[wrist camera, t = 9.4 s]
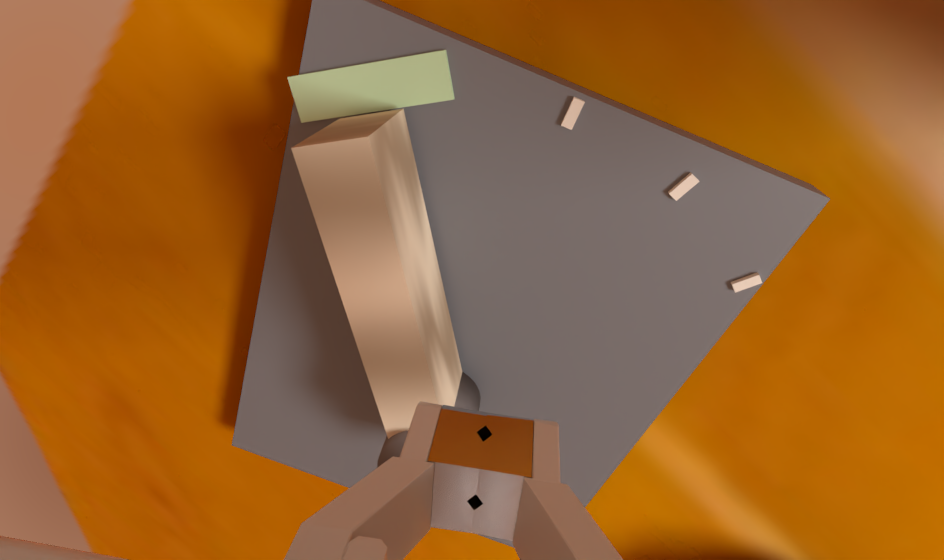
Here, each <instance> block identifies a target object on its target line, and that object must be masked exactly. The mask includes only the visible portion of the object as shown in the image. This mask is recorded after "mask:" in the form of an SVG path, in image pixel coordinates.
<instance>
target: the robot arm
mask: <svg viewBox="0 0 944 560" xmlns="http://www.w3.org/2000/svg"><path fill="white" fill-rule="evenodd" d="M430 527H434V528H442V529H449V530H456V531H463V532H470V533H471V532H472V533H475V534H480V535H485V536H490V537H495V538H500V539H505V540H510V541H513V542H512V543H513V546H514V548H515V550H516V552H517V554H518V556H519V558H520V560H623V559H622V557H621V556H620V554H619V553H618V552H617V550H616V549H615V548H614V546H613V545H612V544H611V542H610V541H609V540H608V538H607V537H606V536H605V534H604V533H603V532H602V530H601V529H600V528H599V526H598V525H597V523H596V522H595V521H594V519H593V518H592V517H591V515H590V514H589V513H588V511H587V510H586V509H585V507H584V506H583V505H582V503H581V502H580V501H579V499H578V498H577V497H576V495H575V494H574V492H573V491H572V490H571V488H570V487H569V486H568V485H567V484H562V483H560V453H559V425H558V423H557V422H554V421H547V420H539V419H534V420H533V419H530V418H523V417H516V416H509V415H502V414H495V413H487V412H482V411H476V410H470V409H465V408H459V407H453V406H448V405H439V404H433V403H428V402H422V401H420V402H419V403H418V405H417V406H416V409H415V412H414V415H413V418H412V421H411V424H410V428H409V431H408V434H407V437H406V440H405V443H404V446H403V449H402V452H401V455H400V457H391V458H390V459H389V460H387V461H386V462H384V463H383V464H382V465H380V466H379V467H378V468H376V469H375V470H374V471H372V472H371V473H370V474H368V475H367V476H365V477H364V478H363V479H361V480H360V481H359V482H357V483H356V484H355V485H353V486H352V487H350V488H349V489H348V490H346V491H345V492H344V493H342V494H341V495H340V496H338V497H337V498H335V499H334V500H333V501H331V502H330V503H329V504H327V505H326V506H325V507H323V508H322V509H321V510H319V511H318V512H316V513H315V514H314V515H312V516H311V517H310V518H308V519H307V520H306V521H304V522H303V523H302V524H301V526H300V528H299V530H298V532H297V534H296V536H295V538H294V540H293V542H292V544H291V546H290V548H289V551H288V553H287V555H286V557H285V559H284V560H403V558H404V557H405V556H406V555H407V554H408V553H409V552H410V551H411V550H412V549H413V548H414V546H415V545H416V544H417V543H418V542H419V541H420V540H421V539H422V538H423V537H424V536H425V534H426V533H427V532H428V531H429V530H430ZM0 560H129V559H124V558H118V557H113V556H107V555H102V554H96V553H91V552H85V551H80V550H75V549H69V548H64V547H58V546H52V545H47V544H42V543H37V542H31V541H25V540H20V539H15V538H9V537H4V536H0Z"/></svg>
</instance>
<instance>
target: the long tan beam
mask: <svg viewBox="0 0 944 560" xmlns="http://www.w3.org/2000/svg"><path fill="white" fill-rule="evenodd" d="M291 149H292V152H293V155H294V158H295V161H296V164H297V167H298V170H299V173H300V176H301V179H302V182H303V185H304V188H305V191H306V194H307V197H308V200H309V203H310V206H311V209H312V212H313V215H314V218H315V221H316V224H317V227H318V230H319V233H320V236H321V239H322V242H323V245H324V248H325V251H326V254H327V257H328V260H329V263H330V266H331V269H332V272H333V275H334V278H335V281H336V284H337V287H338V290H339V293H340V296H341V299H342V302H343V305H344V308H345V311H346V314H347V317H348V320H349V323H350V326H351V329H352V332H353V335H354V338H355V341H356V344H357V347H358V350H359V353H360V356H361V359H362V362H363V365H364V368H365V371H366V374H367V377H368V380H369V383H370V386H371V389H372V392H373V395H374V398H375V401H376V404H377V407H378V410H379V413H380V416H381V419H382V422H383V425H384V428H385V431H386V434H387V436H386V439H385V442H384V444H383V447H382V450H381V453H380V455H379V458H378V463H377V467H379V466H380V465H382V464H383V463H384V462H386V461H387V460H389V459H390V458H391V457H400V455H401V452H402V449H403V446H404V443H405V440H406V437H407V434H408V431H409V428H410V424H411V421H412V418H413V415H414V412H415V409H416V406H417V405H418V403H419V402H420V401H422V402H428V403H433V404H439V405H448V406H453V407H459V408H465V409H470V410H476V411H479V407H480V399H481V397H480V392H479V389H478V387H477V385H476V384H475V382H474V381H473V380H472V379H471V378H470V377H469V376H468V375H467V374H465V373H464V372H462V368H461V363H460V359H459V354H458V350H457V346H456V341H455V337H454V332H453V328H452V323H451V319H450V314H449V310H448V305H447V301H446V296H445V292H444V287H443V283H442V279H441V274H440V270H439V265H438V261H437V256H436V252H435V247H434V243H433V238H432V234H431V229H430V225H429V220H428V216H427V211H426V207H425V203H424V198H423V194H422V189H421V185H420V180H419V176H418V171H417V167H416V162H415V158H414V153H413V149H412V144H411V140H410V136H409V131H408V127H407V122H406V118H405V113H404V109H397V110H391V111H384V112H378V113H372V114H365V115H359V116H352V117H346V118H340V119H338V120H336V121H335V122H333V123H331V124H330V125H328V126H327V127H325V128H323V129H322V130H320V131H318V132H317V133H315V134H313V135H312V136H310V137H308V138H307V139H305V140H303V141H302V142H300V143H298V144H297V145H295V146H293V147H292V148H291Z"/></svg>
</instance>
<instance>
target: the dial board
mask: <svg viewBox="0 0 944 560" xmlns="http://www.w3.org/2000/svg"><path fill="white" fill-rule="evenodd" d="M287 79H288V82H289V85H290V88H291V91H292V94H293V98H294V104H293V109H292V115H291V120H290V126H289V131H288V137H287V143H286V148H285V154H284V159H283V165H282V170H281V176H280V181H279V187H278V192H277V198H276V203H275V209H274V214H273V220H272V226H271V231H270V237H269V242H268V248H267V253H266V259H265V264H264V270H263V275H262V281H261V286H260V292H259V297H258V303H257V309H256V314H255V320H254V325H253V331H252V336H251V342H250V347H249V353H248V358H247V364H246V369H245V375H244V380H243V386H242V392H241V397H240V403H239V408H238V414H237V419H236V425H235V430H234V436H233V441H232V445H233V446H235V447H238V448H241V449H244V450H246V451H249V452H252V453H255V454H257V455H260V456H263V457H266V458H268V459H271V460H274V461H277V462H280V463H282V464H285V465H288V466H291V467H293V468H296V469H299V470H302V471H304V472H307V473H310V474H313V475H315V476H318V477H321V478H324V479H326V480H329V481H332V482H335V483H337V484H340V485H343V486H346V487H349V488H350V487H352V486H353V485H355V484H356V483H357V482H359V481H360V480H361V479H363V478H364V477H365V476H367V475H368V474H370V473H371V472H372V471H374V470H375V469H376V468H378V467H377V463H378V458H379V455H380V453H381V450H382V447H383V444H384V442H385V439H386V436H387V434H386V431H385V428H384V425H383V422H382V419H381V416H380V413H379V410H378V407H377V404H376V401H375V398H374V395H373V392H372V389H371V386H370V383H369V380H368V377H367V374H366V371H365V368H364V365H363V362H362V359H361V356H360V353H359V350H358V347H357V344H356V341H355V338H354V335H353V332H352V329H351V326H350V323H349V320H348V317H347V314H346V311H345V308H344V305H343V302H342V299H341V296H340V293H339V290H338V287H337V284H336V281H335V278H334V275H333V272H332V269H331V266H330V263H329V260H328V257H327V254H326V251H325V248H324V245H323V242H322V239H321V236H320V233H319V230H318V227H317V224H316V221H315V218H314V215H313V212H312V209H311V206H310V203H309V200H308V197H307V194H306V191H305V188H304V185H303V182H302V179H301V176H300V173H299V170H298V167H297V164H296V161H295V158H294V155H293V152H292V149H291V148H292V147H293V146H295V145H297V144H298V143H300V142H302V141H303V140H305V139H307V138H308V137H310V136H312V135H313V134H315V133H317V132H318V131H320V130H322V129H323V128H325V127H327V126H328V125H330V124H331V123H333V122H335V121H336V120H338V119H340V118H346V117H352V116H359V115H365V114H372V113H378V112H384V111H391V110H397V109H404V113H405V118H406V122H407V127H408V131H409V136H410V140H411V144H412V149H413V153H414V158H415V162H416V167H417V171H418V176H419V180H420V185H421V189H422V194H423V198H424V203H425V207H426V211H427V216H428V220H429V225H430V229H431V234H432V238H433V243H434V247H435V252H436V256H437V261H438V265H439V270H440V274H441V279H442V283H443V287H444V292H445V296H446V301H447V305H448V310H449V314H450V319H451V323H452V328H453V332H454V337H455V341H456V346H457V350H458V354H459V359H460V363H461V368H462V372H464V373H465V374H467V375H468V376H469V377H470V378H471V379H472V380H473V381H474V382H475V384H476V385H477V387H478V389H479V392H480V397H481V399H480V407H479V411H482V412H487V413H495V414H502V415H509V416H516V417H523V418H530V419H533V420H534V419H539V420H547V421H554V422H557V423H558V425H559V453H560V483H562V484H567V485H568V486H569V487H570V488H571V490H572V491H573V492H574V494H575V495H576V497H577V498H578V499H579V501H580V502H581V503H582V505H583V506H584V507H586V505H587V504H588V503H589V502H590V500H591V499H592V498H593V496H594V495H595V494H596V493H597V491H598V490H599V489H600V488H601V486H602V485H603V484H604V483H605V481H606V480H607V479H608V478H609V476H610V475H611V474H612V473H613V471H614V470H615V469H616V468H617V466H618V465H619V464H620V463H621V461H622V460H623V459H624V458H625V456H626V455H627V454H628V453H629V451H630V450H631V449H632V447H633V446H634V445H635V444H636V442H637V441H638V440H639V439H640V437H641V436H642V435H643V434H644V432H645V431H646V430H647V429H648V427H649V426H650V425H651V424H652V422H653V421H654V420H655V419H656V417H657V416H658V415H659V414H660V412H661V411H662V410H663V409H664V407H665V406H666V405H667V403H668V402H669V401H670V400H671V398H672V397H673V396H674V395H675V393H676V392H677V391H678V390H679V388H680V387H681V386H682V385H683V383H684V382H685V381H686V380H687V378H688V377H689V376H690V375H691V373H692V372H693V371H694V370H695V368H696V367H697V366H698V365H699V363H700V362H701V361H702V360H703V358H704V357H705V356H706V354H707V353H708V352H709V351H710V349H711V348H712V347H713V346H714V344H715V343H716V342H717V341H718V339H719V338H720V337H721V336H722V334H723V333H724V332H725V331H726V329H727V328H728V327H729V326H730V324H731V323H732V322H733V321H734V319H735V318H736V317H737V316H738V314H739V313H740V312H741V311H742V309H743V308H744V307H745V305H746V304H747V303H748V302H749V300H750V299H751V298H752V297H753V295H754V294H755V293H756V292H757V290H758V289H759V288H760V287H761V285H762V284H763V283H764V282H765V280H766V279H767V278H768V277H769V275H770V274H771V273H772V272H773V270H774V269H775V268H776V267H777V265H778V264H779V263H780V261H781V260H782V259H783V258H784V256H785V255H786V254H787V253H788V251H789V250H790V249H791V248H792V246H793V245H794V244H795V243H796V241H797V240H798V239H799V238H800V236H801V235H802V234H803V233H804V231H805V230H806V229H807V228H808V226H809V225H810V224H811V223H812V221H813V220H814V219H815V218H816V216H817V215H818V214H819V212H820V211H821V210H822V209H823V207H824V206H825V205H826V204H827V202H828V201H829V200H830V198H829V197H827V196H826V195H825V194H823V193H822V192H821V191H819V190H818V189H817V188H815V187H814V186H813V185H811V184H809V183H806V182H804V181H801V180H799V179H797V178H794V177H792V176H790V175H787V174H785V173H783V172H780V171H778V170H776V169H773V168H771V167H769V166H766V165H764V164H762V163H759V162H757V161H755V160H752V159H750V158H748V157H745V156H743V155H741V154H738V153H736V152H733V151H731V150H729V149H726V148H724V147H722V146H719V145H717V144H715V143H712V142H710V141H708V140H705V139H703V138H701V137H698V136H696V135H694V134H691V133H689V132H687V131H684V130H682V129H680V128H677V127H675V126H672V125H670V124H668V123H665V122H663V121H661V120H658V119H656V118H654V117H651V116H649V115H647V114H644V113H642V112H640V111H637V110H635V109H633V108H630V107H628V106H626V105H623V104H621V103H619V102H616V101H614V100H611V99H609V98H607V97H604V96H602V95H600V94H597V93H595V92H593V91H590V90H588V89H586V88H583V87H581V86H579V85H576V84H574V83H572V82H569V81H567V80H565V79H562V78H560V77H558V76H555V75H553V74H550V73H548V72H546V71H543V70H541V69H539V68H536V67H534V66H532V65H529V64H527V63H525V62H522V61H520V60H518V59H515V58H513V57H511V56H508V55H506V54H504V53H501V52H499V51H497V50H494V49H492V48H490V47H487V46H485V45H482V44H480V43H478V42H475V41H473V40H471V39H468V38H466V37H464V36H461V35H459V34H457V33H454V32H452V31H450V30H447V29H445V28H443V27H440V26H438V25H436V24H433V23H431V22H429V21H426V20H424V19H421V18H419V17H417V16H414V15H412V14H410V13H407V12H405V11H403V10H400V9H398V8H396V7H393V6H391V5H389V4H386V3H384V2H382V1H379V0H312V4H311V10H310V15H309V21H308V26H307V32H306V37H305V43H304V48H303V54H302V60H301V65H300V71H299V75H295V76H289V77H287ZM478 535H480V534H478ZM481 536H484V537H486V538H489V539H492V540H495V541H497V542H500V543H503V544H506V545H509V546H511V547H514V546H513V543H512V542H513V541H510V540H505V539H500V538H495V537H490V536H485V535H481Z"/></svg>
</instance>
